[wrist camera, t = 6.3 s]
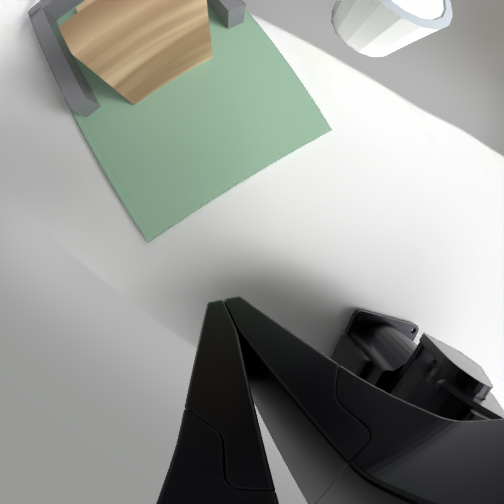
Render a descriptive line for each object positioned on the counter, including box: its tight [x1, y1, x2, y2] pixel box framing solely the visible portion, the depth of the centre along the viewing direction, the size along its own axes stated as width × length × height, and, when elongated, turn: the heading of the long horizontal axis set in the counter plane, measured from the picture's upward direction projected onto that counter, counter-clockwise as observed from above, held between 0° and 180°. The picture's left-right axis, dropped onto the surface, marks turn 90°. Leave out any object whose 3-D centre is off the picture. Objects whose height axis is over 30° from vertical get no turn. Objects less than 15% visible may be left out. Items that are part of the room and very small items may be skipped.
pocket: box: [28, 0, 246, 117], centre depth 14 cm, size 12×12×2 cm
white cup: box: [332, 0, 453, 57], centre depth 14 cm, size 7×7×7 cm
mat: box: [57, 0, 332, 242], centre depth 16 cm, size 22×14×1 cm, turn 31°
